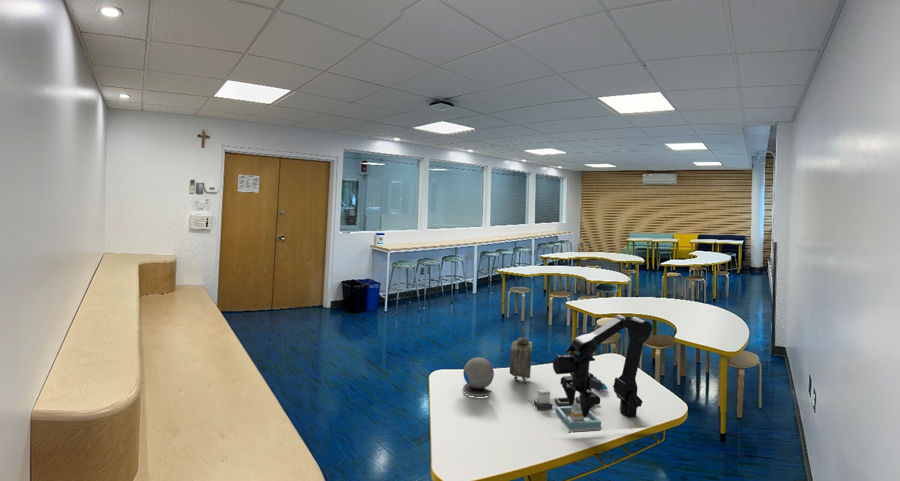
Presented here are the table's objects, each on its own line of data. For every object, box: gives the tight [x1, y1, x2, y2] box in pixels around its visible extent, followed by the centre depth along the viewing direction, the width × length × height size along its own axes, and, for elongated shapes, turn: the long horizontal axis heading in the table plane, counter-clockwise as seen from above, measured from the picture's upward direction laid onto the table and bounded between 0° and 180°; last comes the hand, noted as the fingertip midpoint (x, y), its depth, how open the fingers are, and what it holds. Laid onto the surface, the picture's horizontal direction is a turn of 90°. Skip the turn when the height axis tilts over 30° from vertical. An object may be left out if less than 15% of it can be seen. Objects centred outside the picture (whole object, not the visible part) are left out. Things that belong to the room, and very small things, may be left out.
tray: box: [554, 406, 602, 434], centre depth 167 cm, size 12×12×4 cm
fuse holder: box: [527, 396, 603, 412], centre depth 179 cm, size 9×28×3 cm, turn 100°
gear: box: [594, 375, 608, 390], centre depth 195 cm, size 11×6×10 cm
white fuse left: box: [536, 388, 551, 404], centre depth 177 cm, size 3×4×6 cm, turn 100°
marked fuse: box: [570, 404, 585, 422], centre depth 167 cm, size 3×4×6 cm, turn 105°
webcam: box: [462, 356, 495, 397], centre depth 189 cm, size 13×13×15 cm
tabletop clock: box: [509, 327, 533, 385], centre depth 201 cm, size 14×9×25 cm, turn 168°
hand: (578, 411), depth 167 cm, fingers open, 9 cm apart
